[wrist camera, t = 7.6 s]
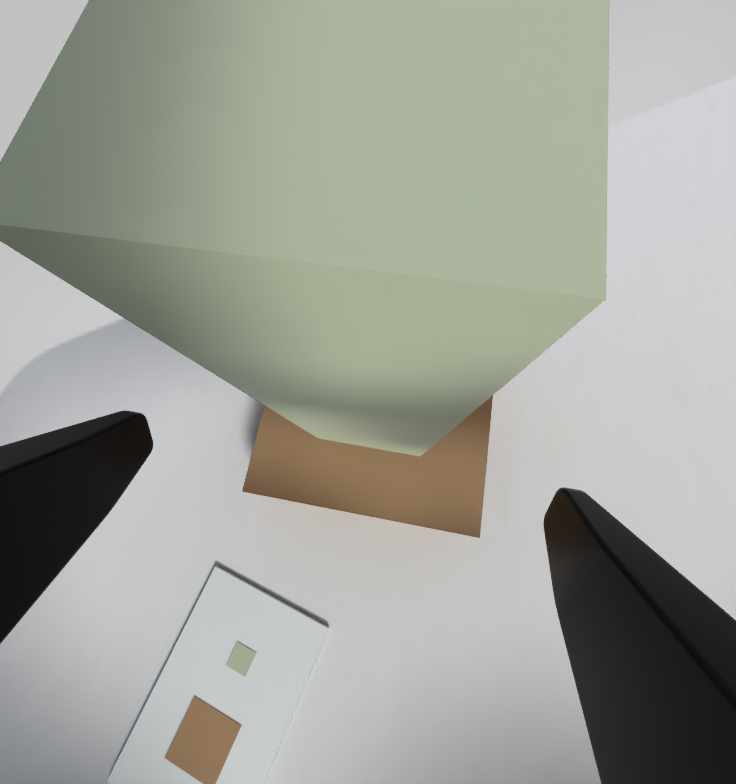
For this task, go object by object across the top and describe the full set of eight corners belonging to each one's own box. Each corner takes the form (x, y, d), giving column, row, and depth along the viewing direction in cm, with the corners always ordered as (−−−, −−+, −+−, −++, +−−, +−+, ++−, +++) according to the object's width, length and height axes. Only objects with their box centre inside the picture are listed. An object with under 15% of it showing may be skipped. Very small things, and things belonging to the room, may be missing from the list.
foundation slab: (465, 529, 16) (479, 537, 14) (263, 490, 17) (242, 491, 15) (485, 334, 19) (500, 312, 16) (306, 310, 20) (295, 285, 17)
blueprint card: (230, 862, 14) (228, 868, 13) (109, 778, 14) (105, 782, 14) (329, 627, 15) (328, 629, 15) (216, 565, 16) (214, 566, 16)
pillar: (420, 456, 15) (606, 299, 2) (318, 438, 15) (-33, 219, 3) (434, 358, 16) (611, -134, 3) (338, 344, 16) (162, -134, 4)
